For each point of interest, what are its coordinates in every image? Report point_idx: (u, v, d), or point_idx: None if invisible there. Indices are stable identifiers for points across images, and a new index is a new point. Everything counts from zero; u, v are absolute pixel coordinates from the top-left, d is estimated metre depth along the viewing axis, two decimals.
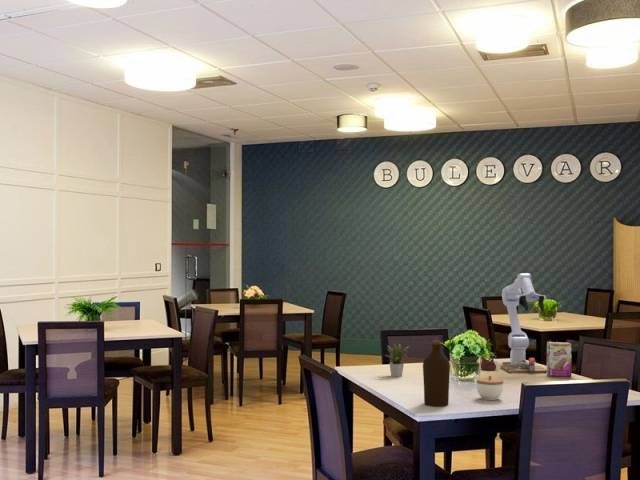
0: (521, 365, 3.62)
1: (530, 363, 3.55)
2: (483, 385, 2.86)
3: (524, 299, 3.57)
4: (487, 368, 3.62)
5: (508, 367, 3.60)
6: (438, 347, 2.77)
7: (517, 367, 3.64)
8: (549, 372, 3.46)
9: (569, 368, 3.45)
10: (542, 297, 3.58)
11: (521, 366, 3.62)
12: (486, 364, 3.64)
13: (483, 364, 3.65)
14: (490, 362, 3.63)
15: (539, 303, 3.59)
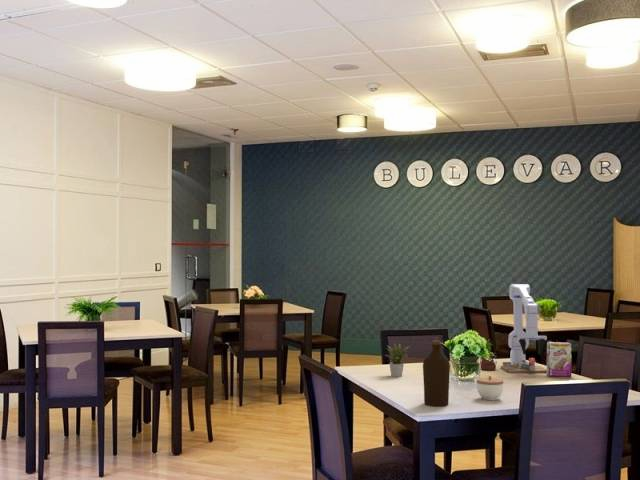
0: (521, 365, 3.62)
1: (530, 363, 3.55)
2: (483, 385, 2.86)
3: (524, 344, 3.54)
4: (487, 368, 3.62)
5: (508, 367, 3.60)
6: (438, 347, 2.77)
7: (517, 367, 3.64)
8: (549, 372, 3.46)
9: (569, 368, 3.45)
10: (543, 342, 3.53)
11: (521, 366, 3.62)
12: (486, 364, 3.64)
13: (483, 364, 3.65)
14: (490, 362, 3.63)
15: (538, 344, 3.56)
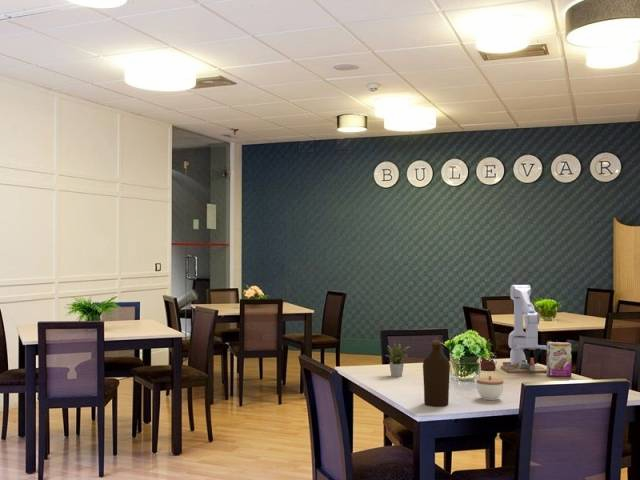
0: (521, 365, 3.62)
1: (530, 363, 3.55)
2: (483, 385, 2.86)
3: (528, 354, 3.54)
4: (487, 368, 3.62)
5: (508, 367, 3.60)
6: (438, 347, 2.77)
7: (517, 367, 3.64)
8: (549, 372, 3.46)
9: (569, 368, 3.45)
10: (538, 352, 3.53)
11: (521, 366, 3.62)
12: (486, 364, 3.63)
13: (483, 364, 3.64)
14: (490, 362, 3.63)
15: (534, 354, 3.56)
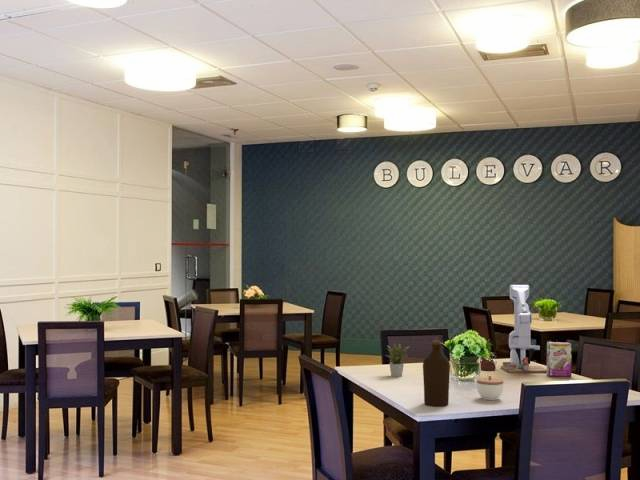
0: (518, 365, 3.62)
1: (524, 363, 3.55)
2: (483, 385, 2.86)
3: (518, 354, 3.55)
4: (487, 368, 3.62)
5: (508, 367, 3.60)
6: (438, 347, 2.77)
7: (516, 365, 3.64)
8: (549, 372, 3.46)
9: (569, 368, 3.45)
10: (531, 352, 3.53)
11: (518, 366, 3.63)
12: (485, 364, 3.63)
13: (482, 364, 3.64)
14: (489, 362, 3.63)
15: None
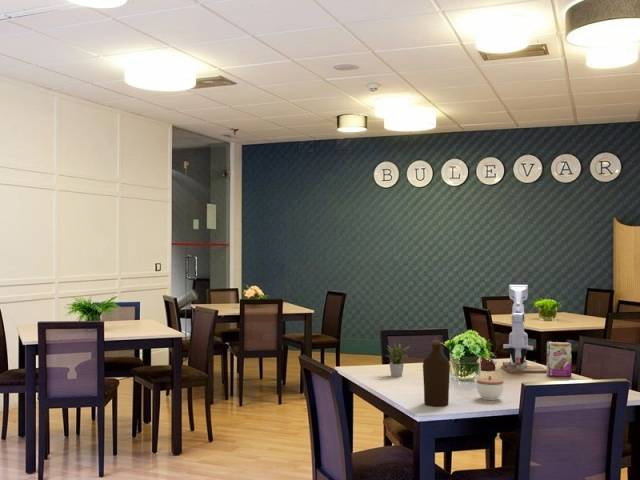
0: None
1: (516, 362, 3.57)
2: (483, 385, 2.86)
3: (511, 353, 3.57)
4: (486, 368, 3.62)
5: (508, 367, 3.60)
6: (438, 347, 2.77)
7: (505, 362, 3.65)
8: (549, 372, 3.46)
9: (569, 368, 3.45)
10: (523, 352, 3.54)
11: None
12: (485, 364, 3.63)
13: (482, 364, 3.64)
14: (489, 362, 3.63)
15: None
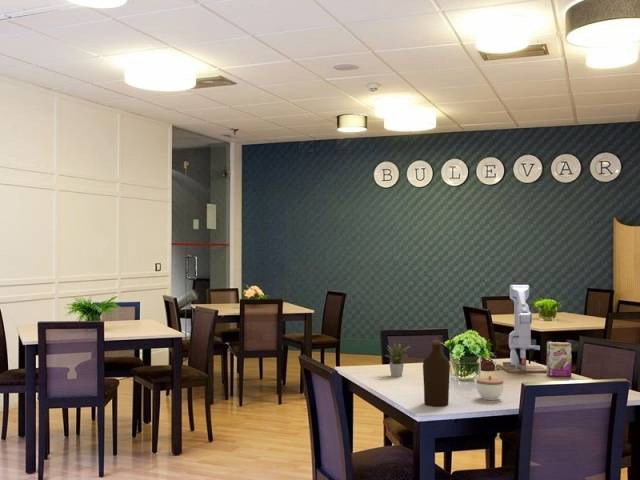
0: (517, 365, 3.63)
1: (521, 363, 3.56)
2: (483, 385, 2.86)
3: (518, 354, 3.55)
4: (486, 368, 3.62)
5: (508, 367, 3.60)
6: (438, 347, 2.77)
7: (499, 369, 3.66)
8: (549, 372, 3.46)
9: (569, 368, 3.45)
10: (531, 352, 3.53)
11: (517, 366, 3.64)
12: (485, 364, 3.63)
13: (482, 364, 3.64)
14: (489, 362, 3.63)
15: None
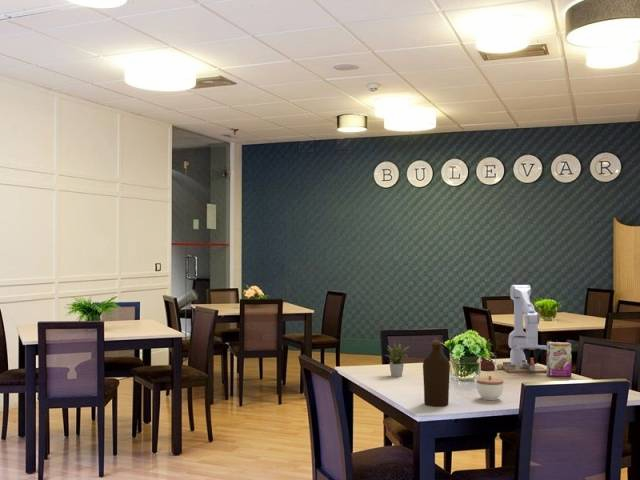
0: (521, 365, 3.62)
1: (530, 363, 3.55)
2: (483, 385, 2.86)
3: (528, 354, 3.54)
4: (486, 368, 3.62)
5: (508, 367, 3.60)
6: (438, 347, 2.77)
7: (500, 368, 3.66)
8: (549, 372, 3.46)
9: (569, 368, 3.45)
10: (538, 352, 3.53)
11: (521, 366, 3.62)
12: (485, 364, 3.63)
13: (482, 364, 3.64)
14: (489, 362, 3.63)
15: (534, 354, 3.56)
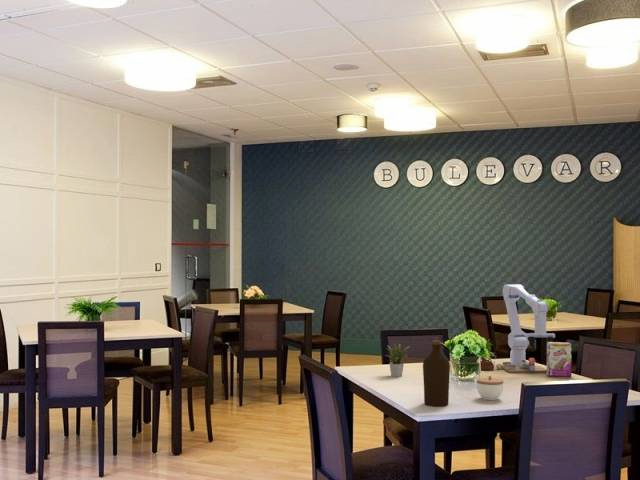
0: (521, 365, 3.62)
1: (530, 363, 3.55)
2: (483, 385, 2.86)
3: (533, 342, 3.62)
4: (485, 368, 3.62)
5: (508, 367, 3.60)
6: (438, 347, 2.77)
7: (499, 368, 3.66)
8: (549, 372, 3.46)
9: (569, 368, 3.45)
10: (551, 340, 3.62)
11: (521, 366, 3.62)
12: (484, 364, 3.63)
13: (481, 364, 3.64)
14: (488, 362, 3.63)
15: (547, 341, 3.65)
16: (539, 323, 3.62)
